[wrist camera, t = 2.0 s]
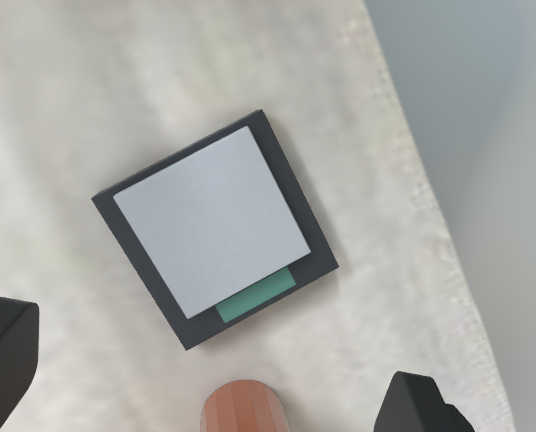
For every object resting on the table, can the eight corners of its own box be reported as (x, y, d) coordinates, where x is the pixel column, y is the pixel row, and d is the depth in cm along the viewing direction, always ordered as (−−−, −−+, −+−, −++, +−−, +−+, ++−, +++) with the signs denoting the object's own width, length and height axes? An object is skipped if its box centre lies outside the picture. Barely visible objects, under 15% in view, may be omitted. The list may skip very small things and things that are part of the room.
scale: (96, 193, 32) (87, 200, 30) (257, 109, 33) (264, 108, 30) (186, 338, 36) (186, 358, 33) (331, 259, 36) (343, 271, 34)
